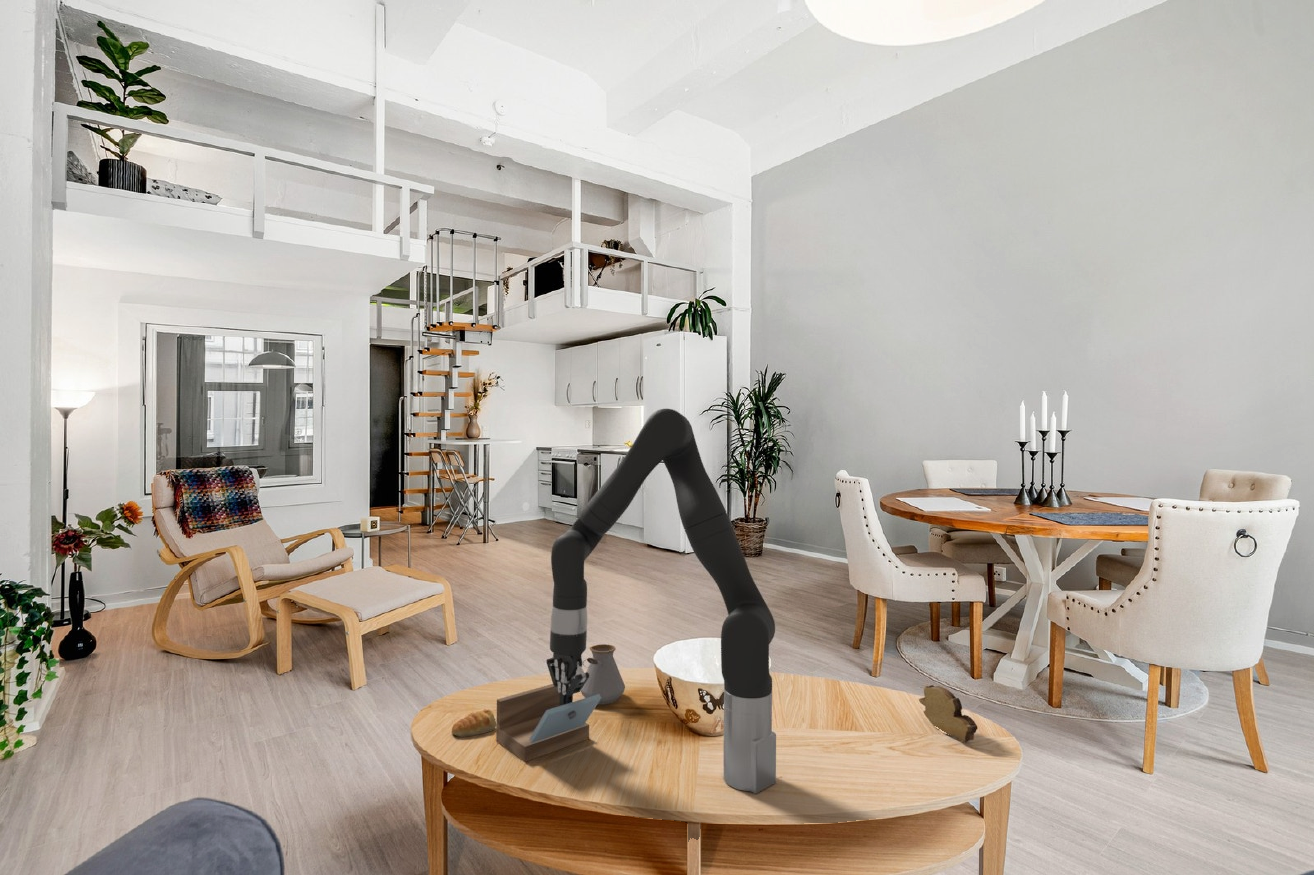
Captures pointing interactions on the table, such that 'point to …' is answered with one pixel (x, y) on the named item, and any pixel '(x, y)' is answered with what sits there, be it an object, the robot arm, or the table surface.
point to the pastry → (475, 724)
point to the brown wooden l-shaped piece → (532, 723)
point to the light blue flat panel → (565, 718)
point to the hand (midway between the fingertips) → (565, 710)
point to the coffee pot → (603, 675)
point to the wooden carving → (947, 713)
